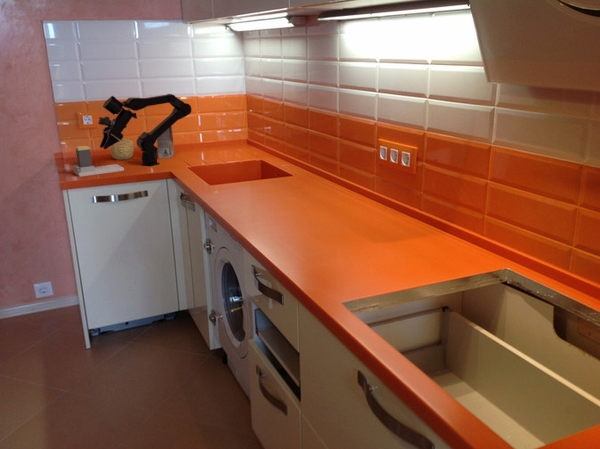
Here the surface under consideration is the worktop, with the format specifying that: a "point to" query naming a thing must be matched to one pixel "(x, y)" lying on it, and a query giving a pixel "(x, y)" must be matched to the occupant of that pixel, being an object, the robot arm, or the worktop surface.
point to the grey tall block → (83, 156)
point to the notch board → (96, 169)
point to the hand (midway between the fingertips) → (102, 148)
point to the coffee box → (165, 144)
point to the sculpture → (122, 149)
